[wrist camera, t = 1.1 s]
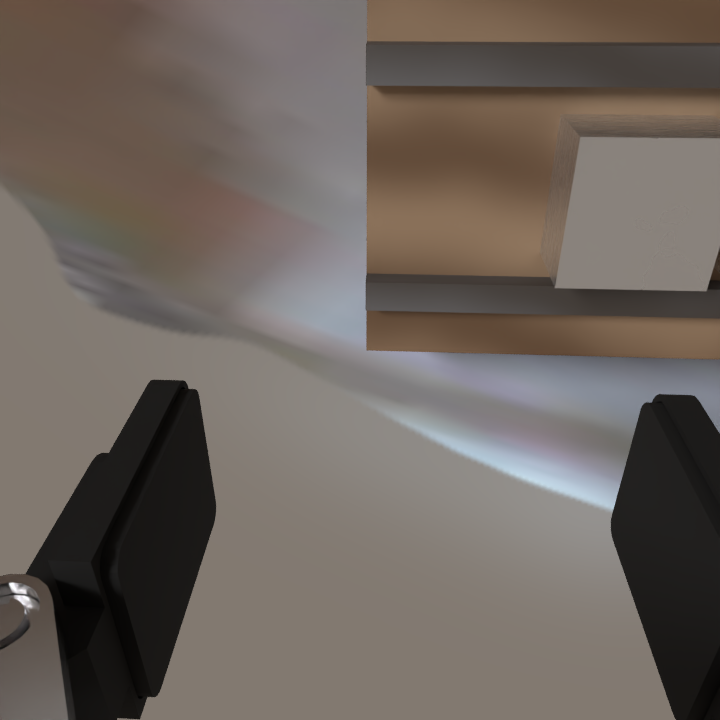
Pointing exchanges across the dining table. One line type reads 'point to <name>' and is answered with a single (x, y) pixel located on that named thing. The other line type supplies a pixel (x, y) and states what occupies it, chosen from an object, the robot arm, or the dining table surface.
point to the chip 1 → (634, 202)
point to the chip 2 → (717, 262)
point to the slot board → (516, 169)
